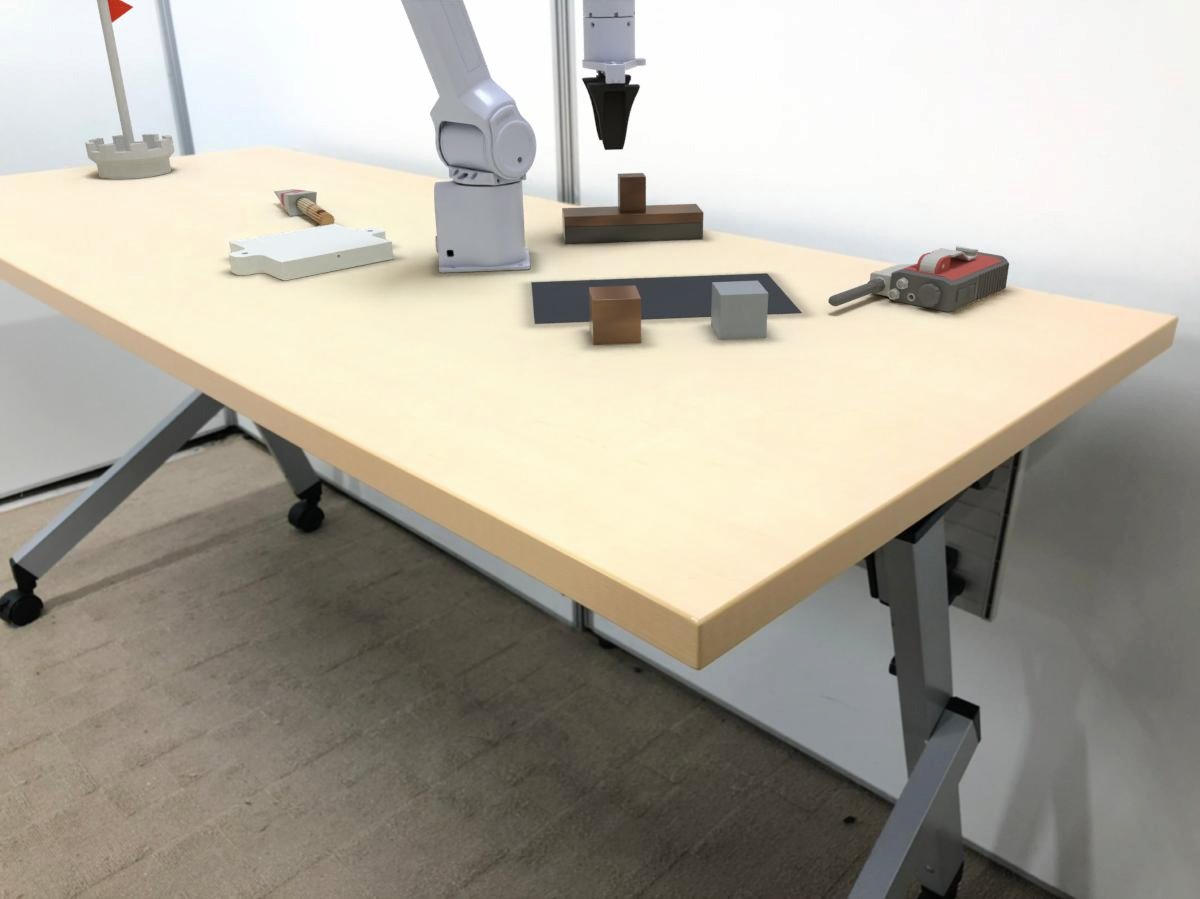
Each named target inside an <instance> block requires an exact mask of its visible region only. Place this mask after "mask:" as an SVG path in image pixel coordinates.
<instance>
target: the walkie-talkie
mask: <svg viewBox="0 0 1200 899" xmlns="http://www.w3.org/2000/svg"><path fill="white" fill-rule="evenodd" d="M1009 269H1010V262H1009V261H1008V259H1007V258H1006V257H1005V256H1003V255H1000V254H999V255H998V254H993V253H987V252H981V251H979V249H977V248H970V247H965V246H959V245H956V246H955V249H949V248H944V247H941V248H937V249H935V250H932V251H931V252H926V253H923V254H921V256H920V257H919V258H918V260H917V263H907V264H906V263H905V264H895V265H892V266H889V267H886V268H884V269H881V270H875V271H873V272H871V273H870V275H869V281H867V283H864V284H862V285H859V286H856V287H853V288H850V289H847V290H845V291H841V292H838V293H835V294H833V295H831V296H830V297H829V298H828V303H829V305H830V306H832V307H839V306H842V305H844V304H847V303H850V302H852V301H855V300H857V299H860V298H863V297H866V296H869V295H878V296H883V297H887V298H889V300H890V301H893V302H895V303H900V304H905V305H906V304H907V305H910V306H915V307H920V308H925V309H929V310H934V311H939V312H943V313H952V312H954V311H956V310H959V309H961V308H964V307H966V306H968V305H971V304H973V303H976V302H977V301H979V300H982V299H984V298H987V297H989V296H991V295H993V294H996V293H998V292H1000V291H1003V290H1005V289H1006V288H1007V284H1008V282H1007V281H1008V275H1009Z"/></svg>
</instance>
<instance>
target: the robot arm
mask: <svg viewBox="0 0 1200 899" xmlns="http://www.w3.org/2000/svg"><path fill="white" fill-rule="evenodd" d="M400 2H401V4H402V6H403V9H404V12H405V15H406V16H407V19H408V22H409V24H410V26H411V29H412V31H413V35H414V37H415V39H416V42H417V44H418V47H419V49H420V52H421V54H422V57H423V59H424V61H425V64H426V66H427V69H428V71H429V74H430V76H431V80H432V81H433V85H434V86H435V89H436V91H437V94H438V98H437V100H436V101H435V103H434V105H433V106H432V108H431V110H430V111H429V116H430V118H431V120H432V123H433V127H434V130H435V131H434V134H435V139H434V140H435V141H434V142H435V150H436V153H437V156H438V158H439V160H440V161H441V162H442V164H443V165H444V166H445V167H446V168H448V177H449V178H450V179H452V180H448V181H436V182H435V183H434V184H433V185H434V187H433V188H434V189H433V201H434V202H433V203H434V218H435V233H436V235H435V237H434V238H435V239H434V240H435V251H436V253H437V256H438V257H437V258H438V266H439V267H438V272H439V273H440V274H441V273H442V274H447V273H472V272H473V273H474V272H475V273H476V272H498V271H500V272H502V271H503V272H504V271H526V270H527V271H528V270H530V269H531V260H530V249H529V248H526V234H525V233H526V232H525V214H524V213H525V212H524V190H523V188H524V187H523V181H526V180H527V173H528V172H529V171H530V170H531V168H532V166H533V164H534V161H535V158H536V155H537V154H536V153H537V138H536V134H535V131H534V129H533V127H532V126H531V124H530V123H529V121H528V120H526V118H525V117H524V116H523V115H522V114H521V112H520V111H519V107H518V106H517V103H516V100H515V99H514V98H513V97H512V95H510V94H509V93H508V92H507V91H506V90H505V89H504V88H502V86H500V85H499V84H498V83H497V82H496V81H495V80H494V79H493V78H492V76H491V73H490V71H489V68H488V65H487V62H486V60H485V57H484V54H483V50H482V48H481V46H480V43H479V40H478V37H477V35H476V31H475V29H474V27H473V24H472V21H471V18H470V15H469V12H468V10H467V8H466V5H465V1H464V0H400ZM582 21H583V22H582V29H583V30H582V31H583V32H582V33H583V59H582V62H581V63H582V66H581V67H582V68H583V69H588V70H594V71H595V73H596V75H595V76H591V77H590V76H589V77H588V76H587V77H582V78H581V80H582V82H583V85H584V87H585V89H586V91H587V93H588V96H589V99H590V100H589V101H590V103H591V107H592V114H593V117H594V118H593V119H594V126H595V129H596V135H597V138H598V140H599V141H601V142H602V146H603V149H604V150H605V151H617V150H618V151H619V150H620V151H621V150H623V149H624V147H625V144H626V140H627V131H628V127H629V121H630V116H631V111H632V107H633V105H634V102H635V99H636V98H637V95H638V94H639V92H640V88H641V85H640V84H638V83H635V84H634V83H633V84H632V83H631V81H632V76H631V75H630V74H627V73H626V71H629V70H631V69H634V68H637V67H641V66H642V67H644V66H646V65H647V60H646V58H644V57H636V0H582ZM630 83H631V84H630Z"/></svg>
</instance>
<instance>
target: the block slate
mask: <svg viewBox="0 0 1200 899" xmlns="http://www.w3.org/2000/svg"><path fill="white" fill-rule="evenodd" d="M767 311H768V292H767V291H766V290H765V289H764V287H763V286H762V285H761V284H760V283H759V281H734V282H712V305H711V317H710V326H711V328H712V330H713V331H714V332H713V333H715V335H716V337H717V338H718V340H722V341H723V340H743V339H745V340H746V339H764V338H767V329H768V328H767V327H768V315H767Z"/></svg>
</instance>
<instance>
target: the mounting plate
mask: <svg viewBox="0 0 1200 899" xmlns="http://www.w3.org/2000/svg"><path fill="white" fill-rule="evenodd" d="M228 243H229V249H230V250H229V251H230V252H229V253H228V259H229V265H230V270H231V273H232V274H234V275H236V276H249V275H254V274H266V275H269V276H272V277H274V278H276V279H278V280H281V281H283V282H284V281H290V280H296V279H300V278H305V277H309V276H314V275H320V274H324V273H329V272H330V273H331V272H334V271H340V270H345V269H350V268H354V267H360V266H365V265H370V264H374V263H379V262H385V261H390V260H393V259H394V250H393V241H391V240H388V239H387V236H386V229H383V228H380V227H367V228H361V229H360V228H359V229H353V228H350V227H346V226H343V225H341V224H337V223H333V224H331V225H325V226H322V225H320V226H313V227H309V228H307V227H306V228H301V229H296V230H289V231H284V232H280V233H272V234H265V235H261V236H255V237H249V238H243V239H238V240H232V241H231V240H230V241H229V242H228Z"/></svg>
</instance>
